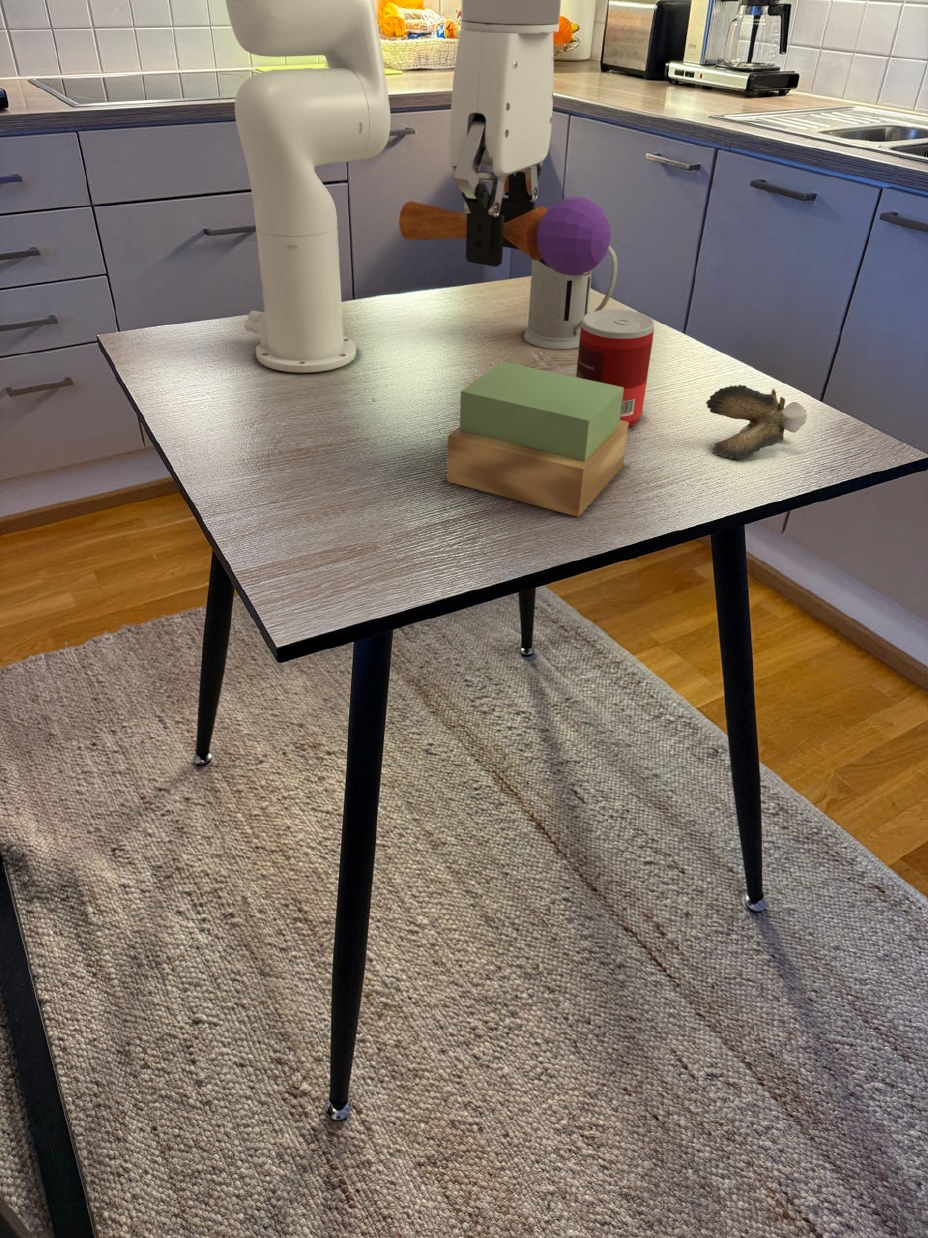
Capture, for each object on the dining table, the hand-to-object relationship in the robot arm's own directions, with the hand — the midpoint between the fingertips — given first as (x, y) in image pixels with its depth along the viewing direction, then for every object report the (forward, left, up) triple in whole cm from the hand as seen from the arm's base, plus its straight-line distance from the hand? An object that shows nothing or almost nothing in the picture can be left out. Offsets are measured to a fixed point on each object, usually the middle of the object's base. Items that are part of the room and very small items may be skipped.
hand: (499, 253), depth 82 cm
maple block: (+4, +2, -21) cm, 22 cm away
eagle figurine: (+21, +20, -22) cm, 36 cm away
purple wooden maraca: (0, 0, -1) cm, 1 cm away
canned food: (+5, +19, -22) cm, 29 cm away
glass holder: (-8, +39, -22) cm, 46 cm away
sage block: (+4, +2, -16) cm, 17 cm away
